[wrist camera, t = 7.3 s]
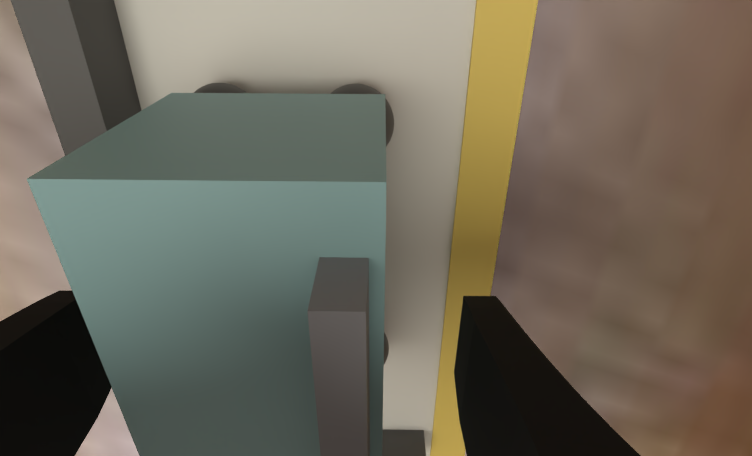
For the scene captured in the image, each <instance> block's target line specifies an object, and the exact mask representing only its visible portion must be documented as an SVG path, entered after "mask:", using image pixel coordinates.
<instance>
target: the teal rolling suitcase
mask: <svg viewBox="0 0 752 456" xmlns="http://www.w3.org/2000/svg"><path fill="white" fill-rule="evenodd" d="M393 130H394V116H393V112H392V109H391V106H390V104H389V102H388V101H387V99H386V98H385V94H381V93H380V92H379V91H377V90H376V89H374V88H372V87H370V86H368V85H364V84H347V85H344V86H341V87H339V88H337V89H335V90H334V91H332V92H331V93H330V94H281V93H247V92H245V91H244V90H243V89H241V88H239V87H237V86H235V85H232V84H228V83H211V84H207V85H205V86H202V87H201V88H199V89H197V90H196V91H195V92H194V93H170V94H169V95H167V96H165V97H164V98H162V99H160V100H158V101H157V102H155V103H153V104H152V105H150V106H148V107H147V108H145V109H143V110H142V111H140V112H138V113H137V114H135V115H133V116H132V117H130V118H128V119H127V120H125V121H123V122H122V123H120V124H118V125H117V126H115V127H113V128H111V129H110V130H108V131H106V132H105V133H103V134H101V135H100V136H98V137H96V138H95V139H93V140H91V141H90V142H88V143H86V144H85V145H83V146H81V147H80V148H78V149H76V150H75V151H73V152H71V153H69V154H68V155H66V156H64V157H63V158H61V159H59V160H58V161H56V162H54V163H53V164H51V165H49V166H48V167H46V168H44V169H43V170H41V171H39V172H38V173H36V174H34V175H33V176H31V177H29V178H28V179H27V181H28V183H29V186H30V188H31V191H32V193H33V196H34V198H35V200H36V203H37V205H38V208H39V210H40V213H41V215H42V218H43V220H44V223H45V225H46V227H47V230H48V232H49V235H50V237H51V240H52V242H53V245H54V247H55V249H56V252H57V254H58V257H59V259H60V262H61V264H62V267H63V269H64V272H65V274H66V276H67V279H68V281H69V284H70V286H71V289H72V291H73V294H74V296H75V299H76V301H77V303H78V306H79V308H80V311H81V313H82V316H83V318H84V321H85V323H86V326H87V328H88V330H89V333H90V335H91V338H92V340H93V343H94V345H95V348H96V350H97V352H98V355H99V357H100V360H101V362H102V365H103V367H104V370H105V372H106V375H107V377H108V379H109V382H110V384H111V387H112V389H113V392H114V394H115V397H116V399H117V402H118V404H119V406H120V409H121V411H122V414H123V416H124V419H125V421H126V424H127V426H128V429H129V431H130V433H131V436H132V438H133V441H134V443H135V446H136V448H137V451H138V453H139V455H140V456H382V433H383V370H384V364H385V362H386V360H387V357H388V353H389V343H388V339H387V336H386V334H385V333H384V308H385V245H386V146H387V145H388V143H389V142H390V140H391V137H392V135H393Z"/></svg>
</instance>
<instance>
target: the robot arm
mask: <svg viewBox="0 0 752 456" xmlns="http://www.w3.org/2000/svg"><path fill="white" fill-rule="evenodd" d="M454 377H455V387H456V396H457V405H458V413H459V421H460V426H461V431H462V435H463V440H464V444H465V449H466V453H467V456H640V455H639V454H638V453H637V452H636V451H635V450H634V449H633V448H632V447H631V446H630V445H629V444H628V443H627V442H626V441H625V440H624V439H623V438H622V437H621V436H620V435H618V434H617V433H616V432H615V431H614V430H613V429H612V428H611V427H610V426H609V424H608V423H607V422H606V421H605V420H604V419H603V418H602V417H601V416H600V415H599V414H598V413H597V412H596V411H595V410H594V409H593V408H592V407H591V406H590V405H589V404H588V403H587V402H586V401H585V400H584V399H583V398H582V397H581V396H580V394H579V393H578V392H577V391H576V390H575V389H574V388H573V387H572V386H571V385H570V384H569V382H568V381H567V380H566V379H565V378H564V377H563V376H562V375H561V374H560V372H559V371H558V370H557V369H556V368H555V367H554V366H553V365H552V363H551V362H550V361H549V360H548V359H547V358H546V357H545V355H544V354H543V353H542V352H541V351H540V350H539V348H538V347H537V346H536V345H535V344H534V342H533V341H532V340H531V339H530V338H529V336H528V335H527V334H526V333H525V332H524V330H523V329H522V328H521V327H520V325H519V324H518V323H517V322H516V320H515V319H514V318H513V317H512V315H511V314H510V313H509V312H508V310H507V309H506V308H505V307H504V305H503V304H502V303H501V302H500V301H499V299H498V298H497V297H496V296H463V304H462V311H461V319H460V327H459V335H458V343H457V351H456V359H455V367H454ZM110 389H111V384H110V382H109V379H108V377H107V375H106V372H105V370H104V367H103V365H102V362H101V360H100V357H99V355H98V352H97V350H96V348H95V345H94V343H93V340H92V338H91V335H90V333H89V330H88V328H87V326H86V323H85V321H84V318H83V316H82V313H81V311H80V308H79V306H78V303H77V301H76V299H75V296H74V294H73V291H58V292H56V293H54V294H52V295H49V296H47V297H45V298H43V299H41V300H39V301H37V302H35V303H33V304H32V305H30V306H28V307H26V308H24V309H22V310H20V311H19V312H17V313H15V314H13V315H11V316H9V317H8V318H6V319H4V320H2V321H0V456H75V454H76V452H77V451H78V449H79V447H80V446H81V444H82V442H83V441H84V439H85V437H86V436H87V434H88V433H89V431H90V429H91V427H92V426H93V424H94V422H95V421H96V419H97V417H98V415H99V413H100V411H101V409H102V407H103V405H104V403H105V401H106V398H107V396H108V394H109V392H110Z"/></svg>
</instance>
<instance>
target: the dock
mask: <svg viewBox="0 0 752 456" xmlns="http://www.w3.org/2000/svg"><path fill="white" fill-rule="evenodd" d="M11 2H12V5H13V8H14V11H15V14H16V17H17V19H18V22H19V25H20V28H21V31H22V34H23V37H24V39H25V42H26V45H27V48H28V51H29V54H30V56H31V59H32V62H33V65H34V68H35V71H36V74H37V76H38V79H39V82H40V85H41V88H42V91H43V93H44V96H45V99H46V102H47V105H48V108H49V111H50V113H51V116H52V119H53V122H54V125H55V128H56V131H57V133H58V136H59V139H60V142H61V145H62V148H63V150H64V153H65V156H66V155H68V154H69V153H71V152H73V151H75V150H76V149H78V148H80V147H81V146H83V145H85V144H86V143H88V142H90V141H91V140H93V139H95V138H96V137H98V136H100V135H101V134H103V133H105V132H106V131H108V130H110V129H111V128H113V127H115V126H117V125H118V124H120V123H122V122H123V121H125V120H127V119H128V118H130V117H132V116H133V115H135V114H137V113H138V112H140V111H142V110H143V109H145V108H147V107H148V106H150V105H152V104H153V103H155V102H157V101H158V100H160V99H162V98H164V97H165V96H167V95H169V94H170V93H194V92H195V91H196V90H197V89H199V88H201V87H202V86H205V85H207V84H211V83H228V84H232V85H235V86H237V87H239V88H241V89H243V90H244V91H245V92H247V93H281V94H330V93H331V92H332V91H334V90H335V89H337V88H339V87H341V86H344V85H347V84H364V85H368V86H370V87H372V88H374V89H376V90H377V91H379V92H380V93H381V94H385V98H386V99H387V101H388V102H389V104H390V106H391V109H392V112H393V116H394V130H393V135H392V137H391V140H390V142H389V143H388V145H387V146H386V245H385V308H384V333H385V334H386V336H387V339H388V343H389V353H388V357H387V360H386V362H385V364H384V370H383V433H382V456H464V455H465V444H464V440H463V435H462V431H461V426H460V421H459V413H458V405H457V396H456V387H455V377H454V367H455V359H456V351H457V343H458V335H459V327H460V319H461V311H462V304H463V296H490V294H491V288H492V282H493V275H494V269H495V263H496V257H497V251H498V245H499V238H500V232H501V226H502V220H503V214H504V208H505V201H506V195H507V189H508V183H509V177H510V170H511V164H512V158H513V152H514V146H515V140H516V133H517V127H518V121H519V115H520V109H521V102H522V96H523V90H524V84H525V78H526V72H527V65H528V59H529V53H530V47H531V41H532V35H533V28H534V22H535V16H536V10H537V4H538V0H11Z"/></svg>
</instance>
